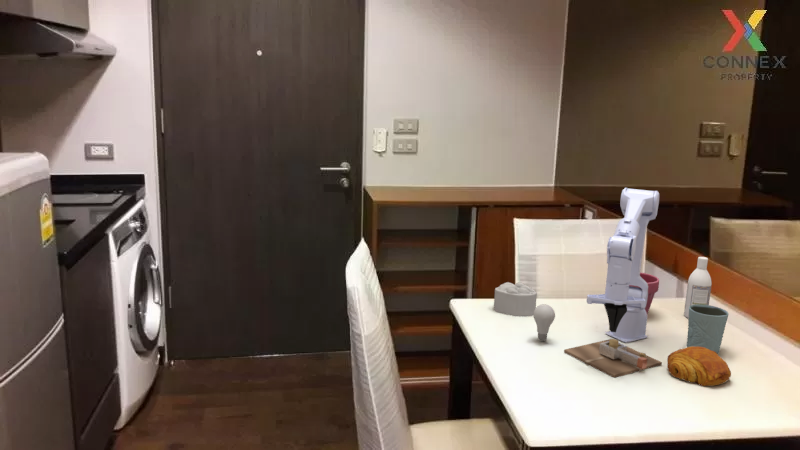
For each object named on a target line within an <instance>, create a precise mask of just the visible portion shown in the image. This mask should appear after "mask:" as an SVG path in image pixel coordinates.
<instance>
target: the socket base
mask: <svg viewBox="0 0 800 450" xmlns="http://www.w3.org/2000/svg"><path fill="white" fill-rule="evenodd" d="M607 341H609V346H611V347H613V348H617V347H618V343H620V342H619V341H620V340H618V339H616V338H609V339H605V340H600V341H597V342H592V343H588V344H582V345H579V346H578V345H577V346H574V347H570V348H566V349H564V350H563V352H564V353H565V354H567V355H568V356H569V357H572V358H574V359H577V360H579V361H580V362H582V363H584V364H586V365H587V366H590V367H592V368H594V369H596V370H597V371H599V372H602V373H604V374H606V375H608V376H610V377H611V378H613V379H615V378H620V377H623V376H625V375H626V376H627V375H629V374H633V373H634V374H635V373H637V372H641V371H644V370H648V369H652V368H655V367H660V366H662V365H663V362H662V361H661V360H658V359H656V358H653V357H652V356H649V355H647V354H646V353H644V352H640V351H639V350H636V349H633V348H631V347H629V346H627V352H630V353H632V354H634V355H637V356H639V357H644V358H646V359H647V367H646V368H644V369H641V368H639V367H637V366H635V365H633V364H630V363H628V362H626V361H623V360H621V359H619V358H617V359H611V358H609V357H607V356H605V355H602V354H600V353H599V348H600V343H603V342H607ZM564 353H563V354H564Z"/></svg>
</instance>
